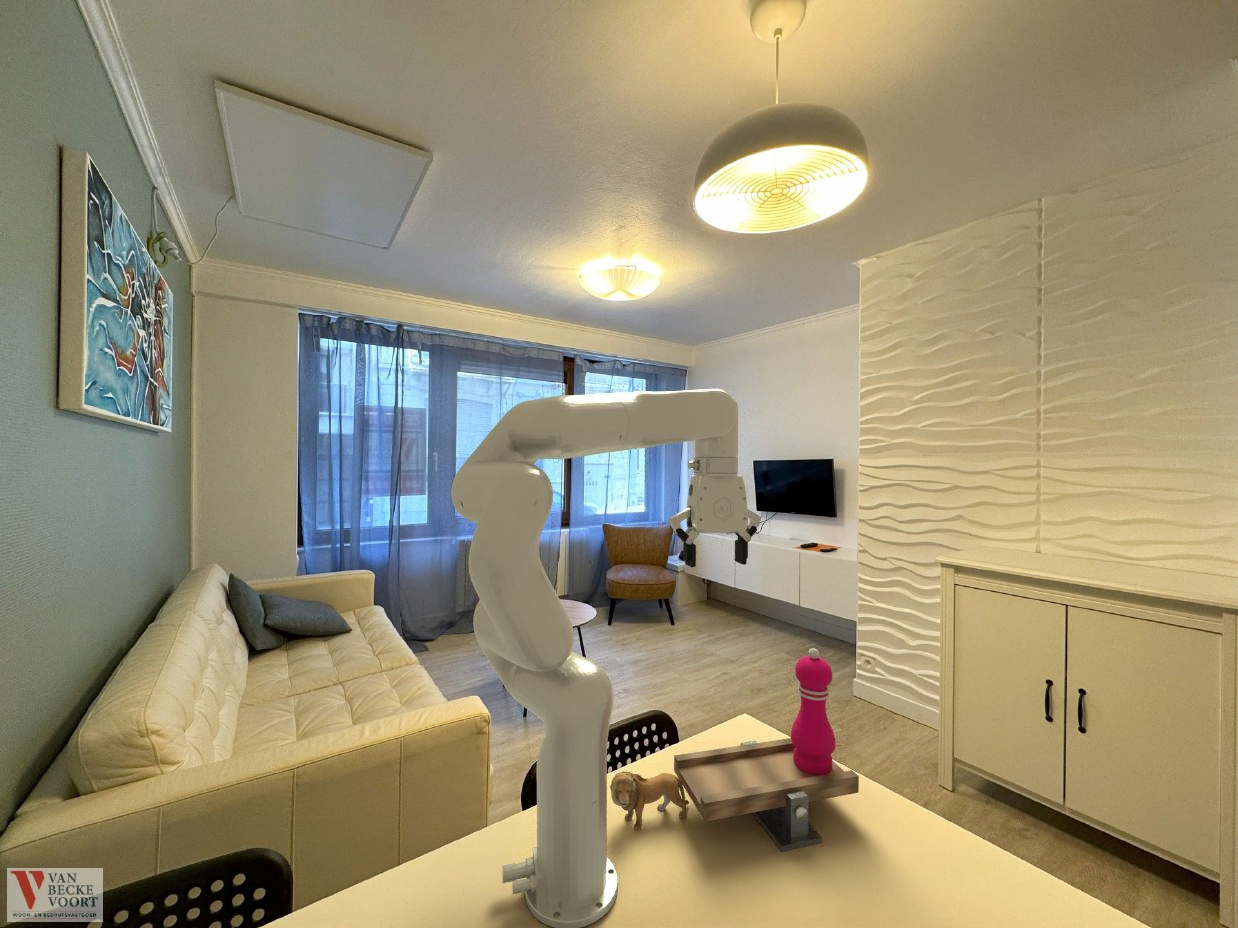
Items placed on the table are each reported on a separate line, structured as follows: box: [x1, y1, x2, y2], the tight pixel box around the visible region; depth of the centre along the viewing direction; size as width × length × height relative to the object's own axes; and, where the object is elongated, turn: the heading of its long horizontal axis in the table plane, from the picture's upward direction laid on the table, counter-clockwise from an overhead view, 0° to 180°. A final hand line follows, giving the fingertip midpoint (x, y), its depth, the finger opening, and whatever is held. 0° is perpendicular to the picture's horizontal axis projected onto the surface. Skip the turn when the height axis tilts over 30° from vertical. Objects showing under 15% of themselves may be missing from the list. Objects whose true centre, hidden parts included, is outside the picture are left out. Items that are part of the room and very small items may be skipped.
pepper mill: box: [790, 647, 837, 775], centre depth 87 cm, size 7×7×20 cm
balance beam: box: [673, 737, 860, 822], centre depth 85 cm, size 27×13×3 cm, turn 105°
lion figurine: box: [609, 771, 690, 831], centre depth 83 cm, size 15×5×9 cm, turn 118°
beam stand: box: [739, 740, 823, 852], centre depth 85 cm, size 7×17×7 cm, turn 15°
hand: (715, 564), depth 90 cm, fingers open, 9 cm apart
